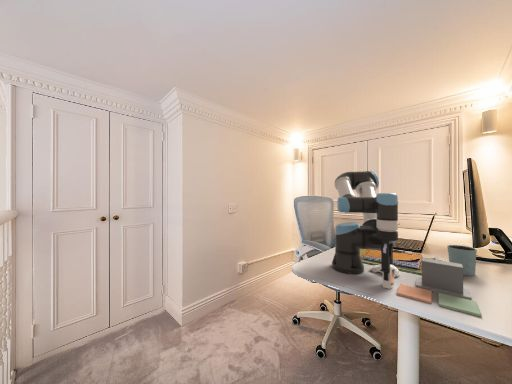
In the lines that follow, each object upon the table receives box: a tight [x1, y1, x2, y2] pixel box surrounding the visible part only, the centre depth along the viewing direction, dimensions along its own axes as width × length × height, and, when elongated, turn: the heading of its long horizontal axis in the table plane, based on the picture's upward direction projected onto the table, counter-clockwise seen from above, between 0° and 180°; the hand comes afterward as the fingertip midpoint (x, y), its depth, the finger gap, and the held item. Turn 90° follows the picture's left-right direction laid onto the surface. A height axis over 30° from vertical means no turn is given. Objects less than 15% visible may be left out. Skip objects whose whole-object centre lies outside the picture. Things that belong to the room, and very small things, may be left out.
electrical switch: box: [429, 255, 440, 260], centre depth 93 cm, size 9×5×9 cm, turn 141°
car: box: [369, 264, 401, 278], centre depth 100 cm, size 12×6×5 cm, turn 46°
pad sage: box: [437, 292, 483, 318], centre depth 71 cm, size 10×10×1 cm
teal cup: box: [446, 244, 478, 277], centre depth 100 cm, size 10×10×12 cm
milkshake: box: [379, 261, 396, 289], centre depth 86 cm, size 4×5×10 cm
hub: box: [415, 257, 473, 301], centre depth 82 cm, size 16×8×11 cm, turn 49°
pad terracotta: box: [396, 283, 433, 305], centre depth 79 cm, size 10×10×1 cm
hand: (387, 285), depth 86 cm, fingers closed on milkshake, 4 cm apart
